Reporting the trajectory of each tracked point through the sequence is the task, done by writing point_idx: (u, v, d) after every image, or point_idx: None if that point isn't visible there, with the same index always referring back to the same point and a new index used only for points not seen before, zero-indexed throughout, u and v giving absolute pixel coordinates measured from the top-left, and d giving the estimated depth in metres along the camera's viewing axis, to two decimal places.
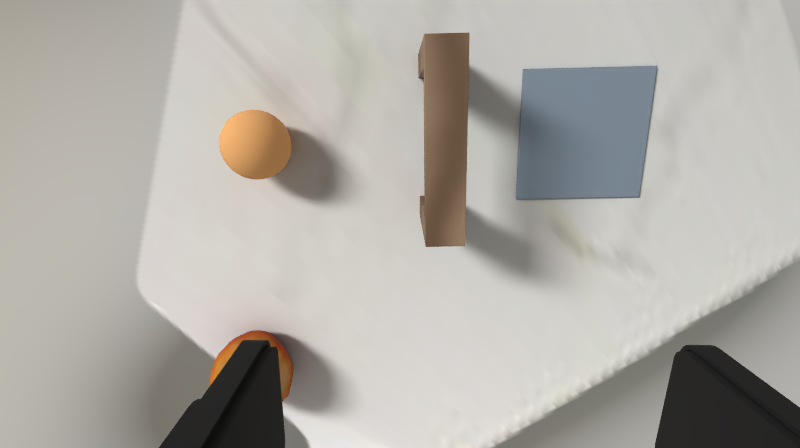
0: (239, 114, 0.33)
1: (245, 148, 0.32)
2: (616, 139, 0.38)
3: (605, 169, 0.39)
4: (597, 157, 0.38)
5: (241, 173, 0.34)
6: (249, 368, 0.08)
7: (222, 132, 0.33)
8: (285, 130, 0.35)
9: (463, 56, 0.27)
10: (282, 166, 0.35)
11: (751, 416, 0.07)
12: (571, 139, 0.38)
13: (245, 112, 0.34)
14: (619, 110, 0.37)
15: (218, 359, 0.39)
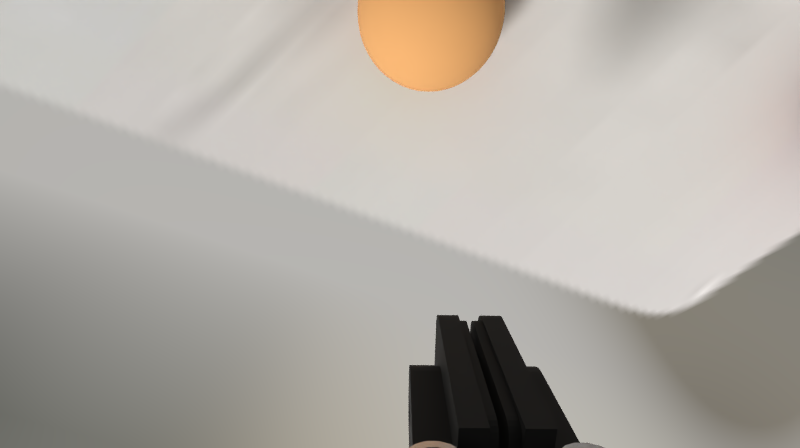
0: (365, 25, 0.16)
1: None
2: None
3: None
4: None
5: (491, 33, 0.15)
6: (463, 337, 0.09)
7: (400, 64, 0.15)
8: None
9: None
10: None
11: (489, 370, 0.08)
12: None
13: (361, 14, 0.16)
14: None
15: None
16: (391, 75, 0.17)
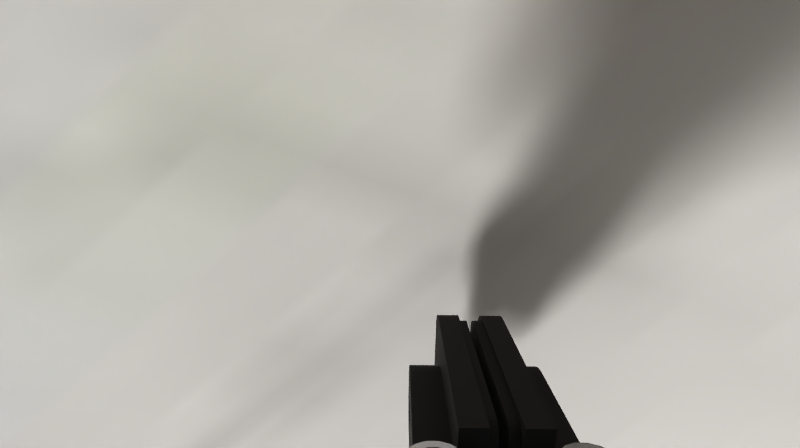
0: None
1: None
2: None
3: None
4: None
5: None
6: (462, 337, 0.09)
7: None
8: None
9: None
10: None
11: (489, 370, 0.08)
12: None
13: None
14: None
15: None
16: None
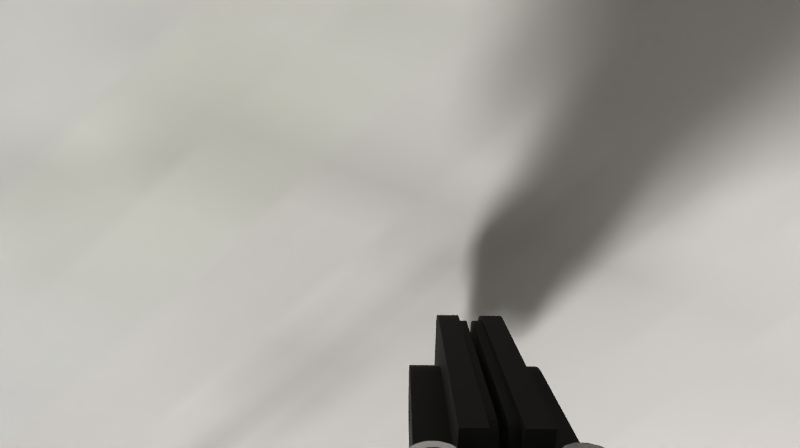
0: None
1: None
2: None
3: None
4: None
5: None
6: (462, 337, 0.09)
7: None
8: None
9: None
10: None
11: (489, 370, 0.08)
12: None
13: None
14: None
15: None
16: None
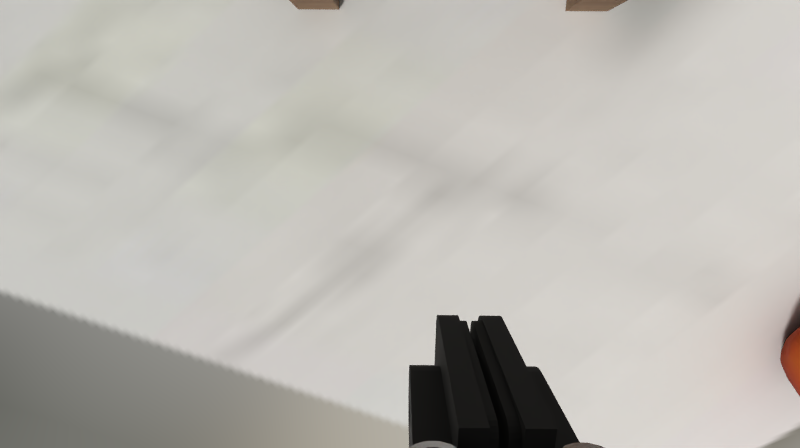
0: None
1: None
2: None
3: None
4: None
5: None
6: (463, 337, 0.09)
7: None
8: None
9: None
10: None
11: (489, 370, 0.08)
12: None
13: None
14: None
15: None
16: None
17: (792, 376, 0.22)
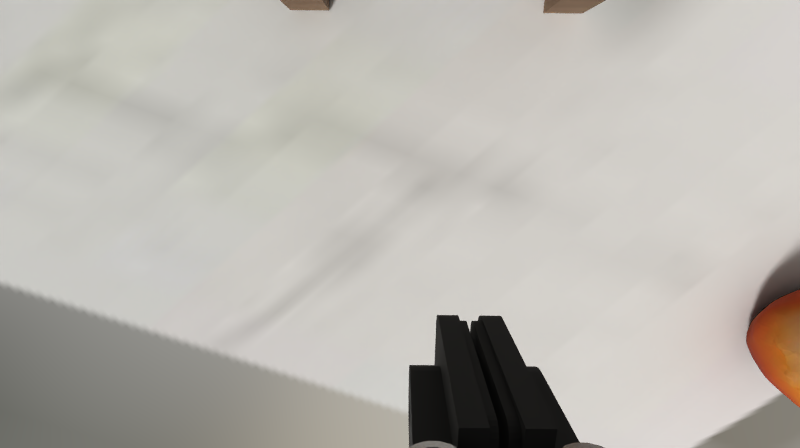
0: None
1: None
2: None
3: None
4: None
5: None
6: (463, 337, 0.09)
7: None
8: None
9: None
10: None
11: (489, 370, 0.08)
12: None
13: None
14: None
15: None
16: None
17: (756, 355, 0.24)
